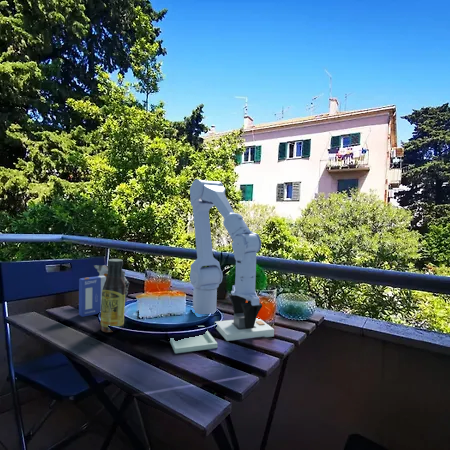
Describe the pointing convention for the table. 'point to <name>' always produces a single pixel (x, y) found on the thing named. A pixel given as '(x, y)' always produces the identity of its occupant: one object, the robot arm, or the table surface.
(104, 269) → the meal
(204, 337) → the tray
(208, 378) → the table surface
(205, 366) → the table surface
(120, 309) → the sauce bottle
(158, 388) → the table surface
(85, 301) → the walkman
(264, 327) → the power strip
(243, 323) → the plug
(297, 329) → the table surface
